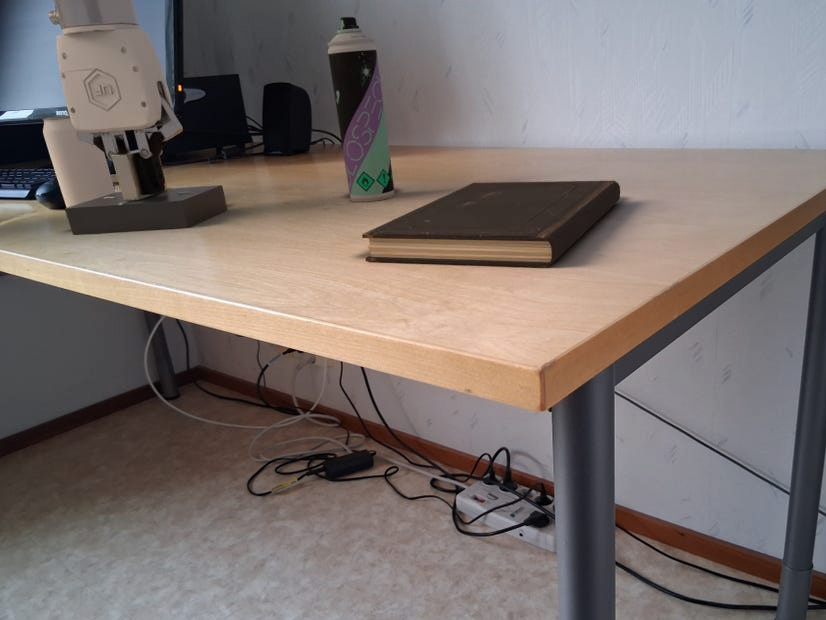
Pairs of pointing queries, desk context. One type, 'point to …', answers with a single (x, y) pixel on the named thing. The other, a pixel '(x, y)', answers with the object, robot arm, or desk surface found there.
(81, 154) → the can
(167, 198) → the dark grey base plate
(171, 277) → the desk surface
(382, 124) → the spray can
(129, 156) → the white rectangular block
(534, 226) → the hardcover book
